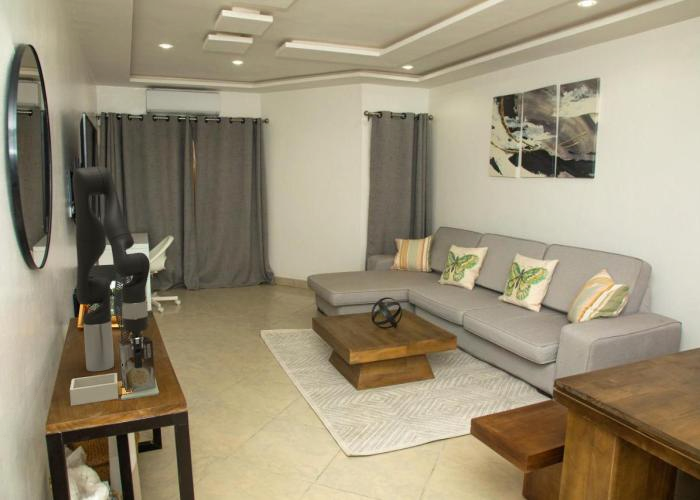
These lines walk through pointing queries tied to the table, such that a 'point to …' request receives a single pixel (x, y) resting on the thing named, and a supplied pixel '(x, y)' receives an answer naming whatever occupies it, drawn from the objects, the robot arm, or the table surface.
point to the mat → (142, 393)
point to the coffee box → (134, 376)
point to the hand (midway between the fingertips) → (137, 363)
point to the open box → (94, 389)
